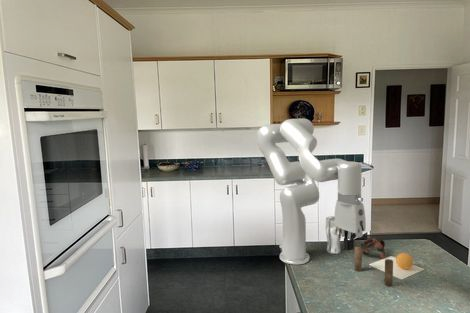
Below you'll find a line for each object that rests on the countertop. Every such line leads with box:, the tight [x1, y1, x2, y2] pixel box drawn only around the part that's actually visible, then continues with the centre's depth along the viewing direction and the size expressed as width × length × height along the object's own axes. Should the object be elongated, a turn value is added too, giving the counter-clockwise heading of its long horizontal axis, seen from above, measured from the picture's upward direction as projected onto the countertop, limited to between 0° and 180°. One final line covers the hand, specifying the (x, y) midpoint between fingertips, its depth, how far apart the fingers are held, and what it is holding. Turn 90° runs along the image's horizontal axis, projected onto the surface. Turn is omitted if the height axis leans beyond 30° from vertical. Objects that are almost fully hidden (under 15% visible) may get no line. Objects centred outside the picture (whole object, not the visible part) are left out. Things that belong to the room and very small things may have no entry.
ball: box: [395, 252, 414, 269], centre depth 125 cm, size 6×6×6 cm
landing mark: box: [368, 255, 425, 280], centre depth 126 cm, size 14×14×1 cm
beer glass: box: [325, 215, 342, 255], centre depth 142 cm, size 7×7×15 cm
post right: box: [383, 259, 394, 288], centre depth 113 cm, size 3×3×9 cm
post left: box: [354, 246, 363, 272], centre depth 124 cm, size 3×3×9 cm
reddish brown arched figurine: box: [359, 237, 387, 260], centre depth 138 cm, size 12×10×8 cm
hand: (348, 249), depth 111 cm, fingers closed
